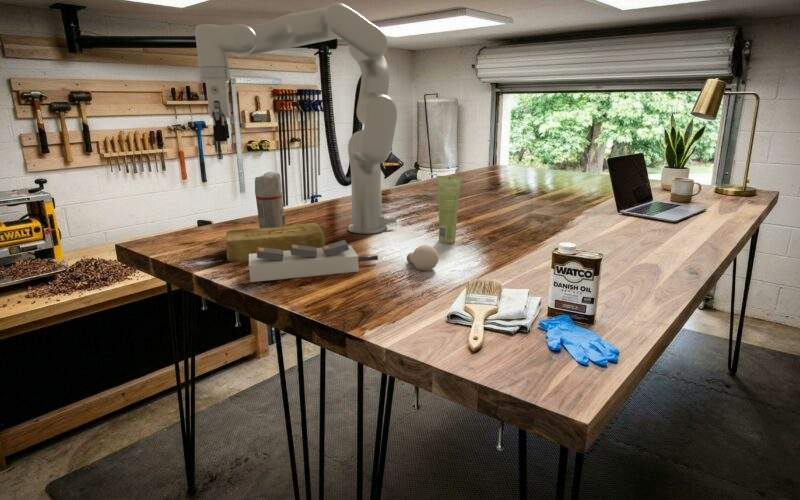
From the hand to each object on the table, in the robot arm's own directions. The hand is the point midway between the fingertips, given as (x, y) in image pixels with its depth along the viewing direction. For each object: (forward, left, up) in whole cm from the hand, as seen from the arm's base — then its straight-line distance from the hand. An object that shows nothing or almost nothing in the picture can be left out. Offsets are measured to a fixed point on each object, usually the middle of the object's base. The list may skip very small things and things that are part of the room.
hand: (222, 139), depth 141 cm
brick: (-12, +11, -31) cm, 35 cm away
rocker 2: (-18, +31, -25) cm, 44 cm away
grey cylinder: (-12, -6, -31) cm, 33 cm away
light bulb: (-47, +36, -31) cm, 66 cm away
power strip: (-21, +29, -31) cm, 47 cm away
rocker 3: (-26, +31, -25) cm, 47 cm away
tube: (-62, +15, -31) cm, 71 cm away
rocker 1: (-10, +31, -25) cm, 41 cm away
